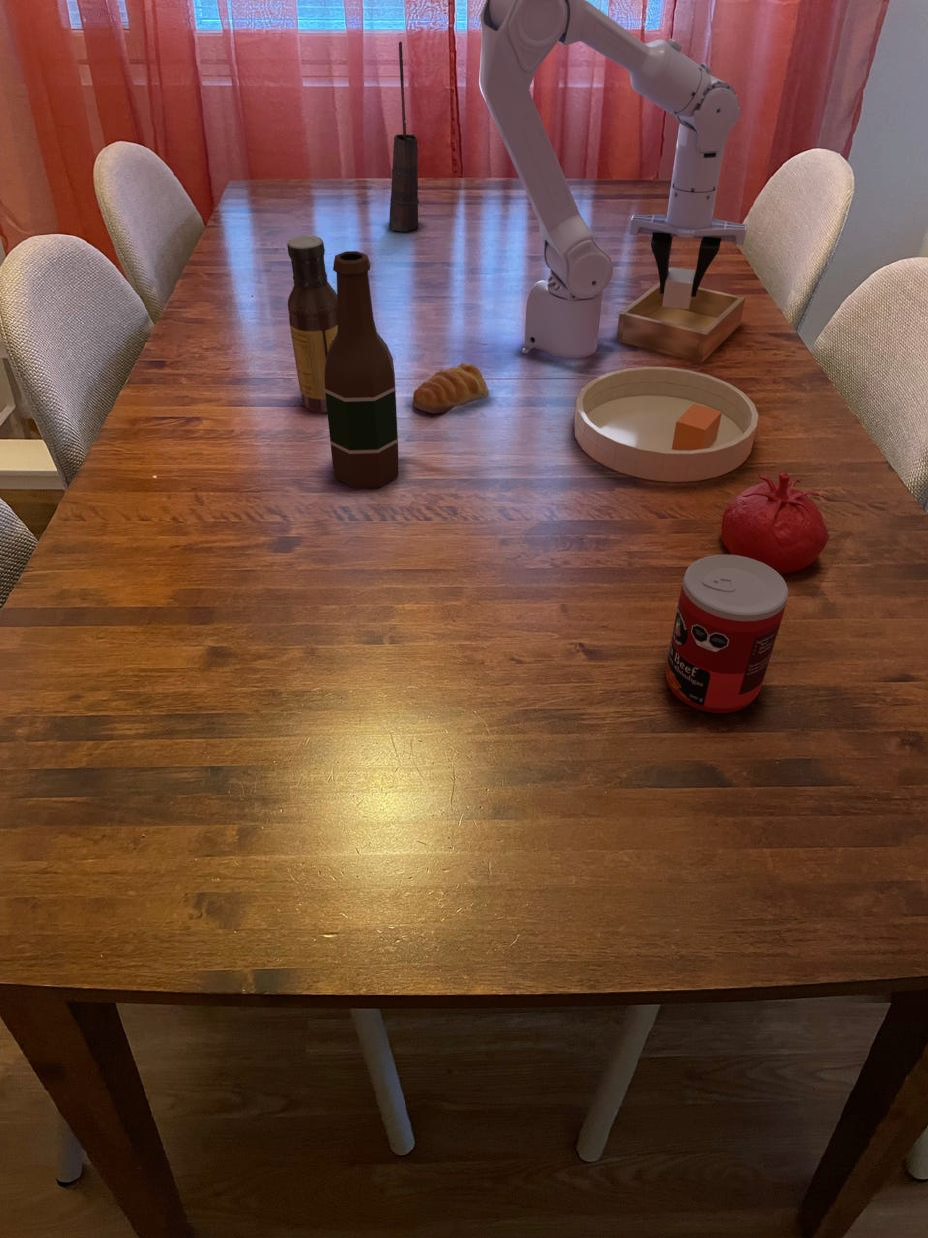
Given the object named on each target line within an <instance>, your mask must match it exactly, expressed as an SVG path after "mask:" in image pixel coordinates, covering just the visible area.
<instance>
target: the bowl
mask: <svg viewBox="0 0 928 1238" xmlns="http://www.w3.org/2000/svg"><path fill="white" fill-rule="evenodd" d="M692 404H697V405H701V406H704V407H708V408H711V409H715V410H719V411H722V415H721V420H720V425H719V430H718V435H717V439H716V440H715V441H714V442H713V443H712V444H711V446H710V447H709V448H708V449H699V450H691V451H682V450H675V449H672V444H673V438H674V432H675V426H676V421H677V420H678V419H679V418H680V417H681V416H682V415H683V414H684V413H685V412H686V411H687V410H688V409H689V408H690V407H691V406H692ZM574 411H575V412H574V423H573V427H574V438H575V440H576V441H577V444H578V445H579V446H580V448H581V450H583V452H584V453H585V454H587V455H588V456H589V457H590V458H591V459H593V460H594V461H595V462H597V463H599V464H601V465H602V466H604V467H606V468H609V469H611V470H613V471H616V472H618V473H621V474H624V475H627V476H630V477H633V478H639V479H643V480H647V481H656V482H669V483H687V482H688V483H689V482H699V481H705V480H709V479H714V478H717V477H720V476H723V475H726V474H728V473H730V472H732V471H734V470H736V469H737V468H739V467H740V466H741V465H743V464H744V463H745V461H746V460H747V459H748V458H749V456H750V455H751V452H752V449H753V445H754V440H755V435H756V432H757V427H758V423H759V422H758V421H759V417H760V416H759V413H758V409H757V407H756V405H755V403H754V402H753V400H752V399H750V397H748V395H747V394H746V393H744V392H743V391H742V390H740V389H739V388H737V387H736V386H734V385H733V384H731V383H729V382H727V381H725V380H722V379H720V378H717V377H715V376H712V375H710V374H706V373H703V372H698V371H696V370H695V371H694V370H692V369H691V370H690V369H684V368H676V367H671V366H670V367H669V366H639V367H628V368H623V369H618V370H615V371H610V372H606V373H604V374H602V375H600V376H598V377H596V378H593V379H591V380H590V381H589V382H588V383H586V384H585V385H584V386H583V387H582V388H581V389H580V391H579V393H578V395H577V397H576V400H575V410H574Z"/></svg>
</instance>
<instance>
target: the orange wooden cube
mask: <svg viewBox="0 0 928 1238" xmlns="http://www.w3.org/2000/svg"><path fill="white" fill-rule="evenodd" d="M721 415H722V411H719V410H715V409H711V408H708V407H704V406H701V405H697V404H692V406H691V407H690V408H689V409H688V410H687V411H686V412H685V413H684V414H683V415H682V416H681V417H680V418H679V419H678V420H677V421H676V426H675V432H674V438H673V444H672V449H675V450H682V451H691V450H699V449H708V448H709V447H710V446H711V444H712V443H713V442H714V441H715V440H716V439H717V435H718V430H719V425H720V420H721Z"/></svg>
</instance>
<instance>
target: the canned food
mask: <svg viewBox="0 0 928 1238" xmlns="http://www.w3.org/2000/svg"><path fill="white" fill-rule="evenodd" d="M788 595H789V590H788V585H787V583H786V580H785V579H784V578H783V576H782V575H781V574H779V573H778V572H776V571H775V570H774V569H772V568H771V567H769V566H767V565H766V564H764V563H762V562H759V561H757V560H754V559H751V558H747V557H743V556H737V555H731V554H714V555H708V556H705V557H701V558H699V559H697V560H695V561H694V562H693V563H691V564H690V565H689V566H688V567H687V569H686V571H685V574H684V576H683V579H682V584H681V588H680V593H679V598H678V603H677V607H676V608H677V609H676V613H675V619H674V624H673V630H672V634H671V639H670V645H669V650H668V655H667V660H666V664H665V677H666V681H667V685H668V686H669V689H670V690H671V692H672V693H673V695H675V697H677V698H678V700H679V701H681V702H682V703H684V704H686V705H687V706H690V707H692V708H694V709H696V710H699V711H702V712H707V713H711V714H730V713H734V712H739V711H741V710H743V709H745V708H747V707H748V706H750V705H751V704H752V702H754V700H755V699H756V698H757V696H759V693H760V692H761V689H762V686H763V683H764V680H765V676H766V673H767V670H768V667H769V664H770V659H771V656H772V653H773V650H774V648H775V647H774V646H775V643H776V640H777V636H778V633H779V630H780V626H781V625H782V620H783V616H784V614H785V609H786V605H787V601H788Z"/></svg>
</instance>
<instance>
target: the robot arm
mask: <svg viewBox="0 0 928 1238" xmlns="http://www.w3.org/2000/svg"><path fill="white" fill-rule="evenodd" d="M479 21H480V29H481V43H480V61H479V62H480V63H479V76H478V78H479V79H478V86H479V90H480V93H481V95H482V98H483V99H484V102H485V104H486V106H487V109H488V111H489V113H490V115H491V117H492V120H493V122H494V124H495V127H496V128H497V131H498V133H499V136H500V138H501V140H502V142H503V144H504V147H505V149H506V152H507V153H508V156H509V158H510V160H511V162H512V165H513V167H514V169H515V172H516V173H517V176H518V178H519V180H520V183H521V185H522V187H523V189H524V192H525V194H526V196H527V198H528V201H529V203H530V205H531V208H532V209H533V212H534V214H535V217H536V219H537V220H538V221H537V222H538V223H539V229H538V231H539V234H540V236H541V239H542V243H543V247H542V248H543V249H542V254H543V255H542V257H543V261H544V263H545V265H546V267H547V268H548V269H549V277H548V278H547V279H545V280H544V279H540V280H538V281H537V282H535V284H534V285H533V286H532V288H531V289H530V291H529V293H528V296H527V301H526V305H525V306H526V307H525V322H524V323H525V324H524V325H525V326H524V344H523V346H524V347H523V348H521V353H522V354H523V355H526V354H527V353H528V352H530V351H531V350H533V349H537V350H541V351H543V352H546V353H548V354H550V355H551V356H555V357H558V358H563V359H583V358H587V357H590V356H591V355H593V354H595V353H596V351H597V349H598V342H599V331H600V321H601V311H602V302H603V293H604V292H603V291H604V290H605V289H606V288H607V287H608V285H609V283H610V282H611V280H612V277H613V272H614V263H613V261H612V258H611V256H610V254H609V253H608V252H607V251H606V250H605V249H603V248H602V247H600V246H599V244H598V243H597V241H596V240H595V237H594V234H593V233H592V231H591V230H590V228H589V226H588V225H587V222H585V220H584V218H583V217H582V215H581V213H580V210H579V209H578V206H577V203H576V201H575V198H574V196H573V193H572V190H571V189H570V186H569V184H568V181H567V179H566V176H565V174H564V172H563V169H562V166H561V164H560V163H559V160H558V157H557V154H556V151H555V150H554V147H553V145H552V142H551V140H550V137H549V135H548V132H547V131H546V128H545V125H544V123H543V121H542V118H541V115H540V113H539V111H538V108H537V105H536V103H535V101H534V99H533V97H532V94H531V91H530V88H531V85H532V84H533V83H532V82H533V80H534V78H535V75H536V73H537V71H538V69H539V67H541V65H542V64H543V63H544V61H545V59H546V58H547V57H548V56H549V54H550V53H551V52H552V51H553V50H554V48H555V47H556V45H557V44H558V43H559V44H561V45H563V46H569V45H572V44H576V43H579V42H581V43H583V44H584V45H585V46H588V47H589V48H591V49H592V50H594V51H596V52H597V53H598V54H601V55H602V56H604V57H605V58H607V59H608V60H610V61H611V62H613V63H615V64H616V65H618V66H620V67H622V68H623V69H625V70H626V71H628V75H629V80H630V81H629V82H630V86H631V88H632V90H633V91H634V92H635V93H636V94H639V95H640V96H641V97H643V98H645V99H646V100H648V101H649V102H651V103H653V104H654V105H655V106H656V107H659V108H660V109H661V110H663V111H665V112H667V113H668V114H670V115H671V116H673V117H674V118H675V119H676V121H677V122H678V123H679V126H678V133H677V140H676V148H675V154H674V160H673V161H674V162H673V169H672V175H671V182H670V189H669V190H670V191H669V196H668V197H669V198H668V205H667V212H666V214H633V215H632V216H631V219H630V226H629V227H630V228H629V235H630V236H631V235H632V236H638V235H639V234H640V235H641V234H642V235H650V236H652V237H651V241H650V248H651V251H652V253H653V256H654V259H655V263H656V268H657V271H658V279H659V282H660V293H661V294H664V290H665V283H666V279H667V275H668V272H669V268H670V257H671V252H672V245H673V238H685V239H695V240H700V244H699V249H698V256H697V262H696V268H695V270H696V272H695V277H694V281H693V286H692V293H691V297H696V294H697V290H698V287H700V284H701V282H702V280H703V278H704V276H705V274H706V272H707V270H708V268H709V267H710V265H711V264H712V262H713V261H714V260H715V258H716V256H717V255H718V253H719V251H720V248H721V242H729V243H734V244H735V245H742V246H744V244H745V240H746V239H745V238H746V234H747V228H748V224H747V223H745V224H743V223H738V222H732V221H727V220H722V219H717V218H713V216H714V211H715V204H716V199H717V193H718V188H719V180H720V176H721V175H720V174H721V169H722V163H723V159H724V151H725V146H726V144H727V139H728V136H729V133H730V132H731V130H732V129H733V127H734V126H735V125H736V123H737V122H738V120H739V117H740V115H741V113H742V112H741V111H742V108H741V107H739V99H738V98H739V97H738V95H737V94H736V93H737V91H736V89H735V88H734V87H733V85H731V84H730V83H728V82H726V81H723V80H721V79H719V78H718V77H716V76H714V75H712V74H711V72H712V67H711V66H710V65H708V64H706V63H704V62H701V63H700V64H699V63H697V62H696V61H694V60H693V59H691V58H690V57H689V56H687V55H686V54H684V53H683V52H681V51H682V49H683V45H682V44H681V43H679V42H678V41H676V40H674V39H672V38H669V39H668V41H666V40H664V39H663V38H657V39H655V40H652V41H649V42H646V43H644V42H643V41H642V40H641V39H639V38H638V37H637V36H635V35H634V34H633V33H631V32H630V31H629V30H627V29H626V28H624V27H623V26H621V25H620V24H619V23H618V22H616V21H615V20H614V19H612V18H611V17H610V16H609V15H607V14H605V13H604V12H603V11H602V10H600V9H599V8H598V7H597V6H595V5H594V4H592V3H591V2H589V1H587V0H485V1H484V4H483V7H482V8H481V11H480V13H479Z"/></svg>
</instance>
